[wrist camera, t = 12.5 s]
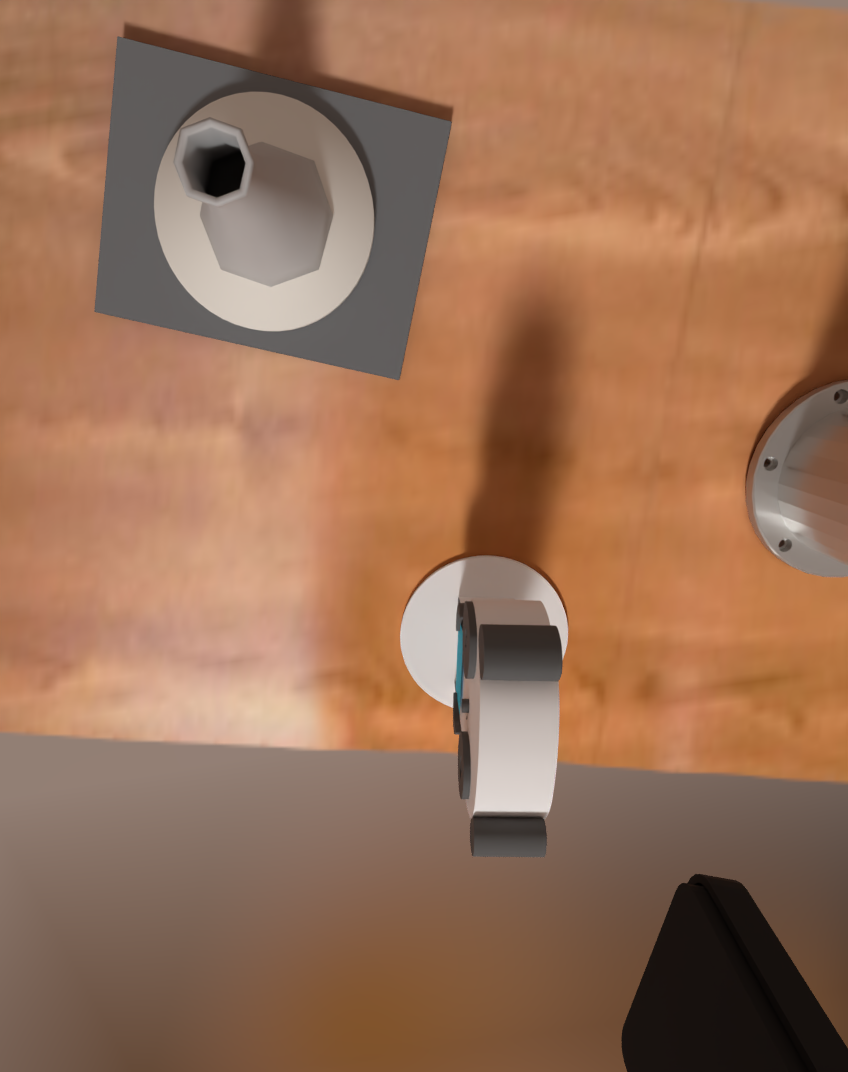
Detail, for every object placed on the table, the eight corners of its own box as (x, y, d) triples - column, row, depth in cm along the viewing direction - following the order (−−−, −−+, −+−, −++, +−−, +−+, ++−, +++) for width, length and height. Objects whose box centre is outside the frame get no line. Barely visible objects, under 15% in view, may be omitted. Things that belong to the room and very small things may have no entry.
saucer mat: (450, 126, 36) (452, 116, 34) (399, 379, 39) (398, 380, 38) (124, 43, 34) (110, 28, 33) (101, 312, 38) (87, 310, 36)
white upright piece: (402, 543, 42) (396, 638, 27) (574, 547, 42) (659, 643, 28) (399, 708, 45) (392, 872, 31) (559, 711, 45) (629, 874, 31)
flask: (195, 143, 34) (110, 56, 25) (331, 143, 34) (299, 57, 25) (207, 287, 36) (132, 259, 26) (336, 287, 36) (308, 259, 27)
